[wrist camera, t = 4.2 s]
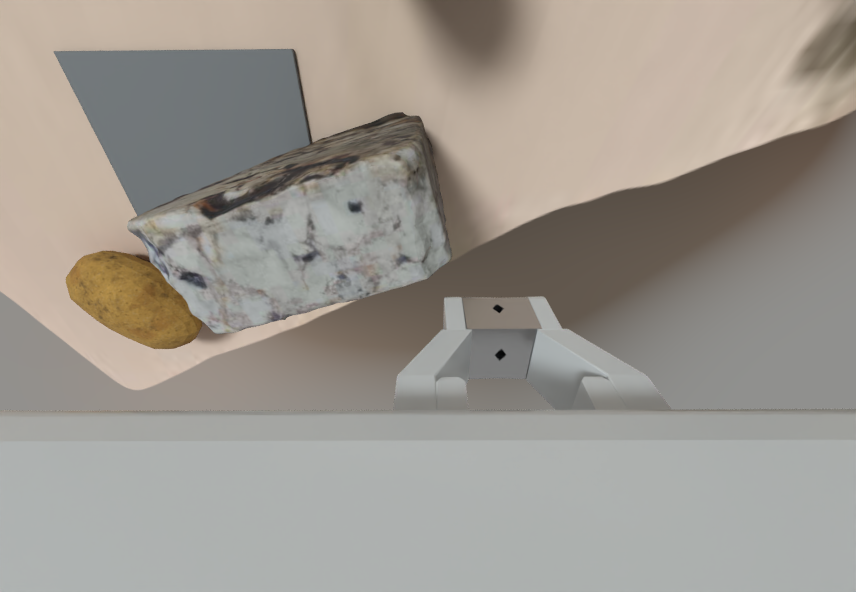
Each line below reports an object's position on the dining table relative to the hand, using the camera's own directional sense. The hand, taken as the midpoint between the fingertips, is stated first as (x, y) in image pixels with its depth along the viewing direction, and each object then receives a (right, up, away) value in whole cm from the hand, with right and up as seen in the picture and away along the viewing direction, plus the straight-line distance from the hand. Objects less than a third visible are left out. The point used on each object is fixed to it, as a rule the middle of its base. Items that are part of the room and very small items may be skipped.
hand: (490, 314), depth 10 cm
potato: (-33, +2, +29) cm, 44 cm away
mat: (-22, +14, +21) cm, 33 cm away
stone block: (-8, +13, +20) cm, 26 cm away
